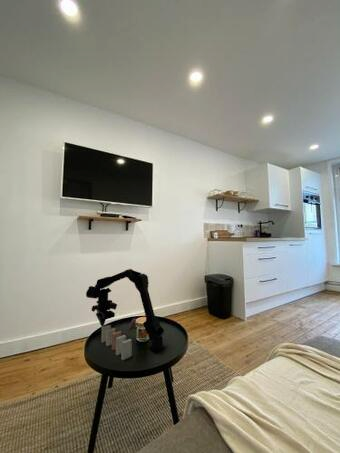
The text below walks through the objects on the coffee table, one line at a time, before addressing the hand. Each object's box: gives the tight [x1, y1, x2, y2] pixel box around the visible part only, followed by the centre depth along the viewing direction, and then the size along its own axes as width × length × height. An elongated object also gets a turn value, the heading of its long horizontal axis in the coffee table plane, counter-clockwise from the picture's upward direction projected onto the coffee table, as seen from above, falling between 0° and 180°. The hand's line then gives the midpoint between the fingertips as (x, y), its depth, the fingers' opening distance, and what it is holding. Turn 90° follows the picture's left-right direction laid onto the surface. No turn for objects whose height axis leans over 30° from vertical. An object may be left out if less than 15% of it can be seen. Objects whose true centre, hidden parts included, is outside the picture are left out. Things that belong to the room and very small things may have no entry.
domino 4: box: [115, 334, 127, 356], centre depth 105 cm, size 2×5×8 cm, turn 133°
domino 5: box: [120, 338, 133, 361], centre depth 101 cm, size 2×5×8 cm, turn 133°
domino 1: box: [100, 324, 112, 343], centre depth 117 cm, size 2×5×8 cm, turn 133°
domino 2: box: [105, 327, 117, 347], centre depth 113 cm, size 2×5×8 cm, turn 133°
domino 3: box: [111, 330, 123, 351], centre depth 110 cm, size 2×5×8 cm, turn 133°
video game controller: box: [128, 318, 137, 330], centre depth 133 cm, size 10×5×7 cm, turn 75°
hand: (102, 326), depth 121 cm, fingers closed
